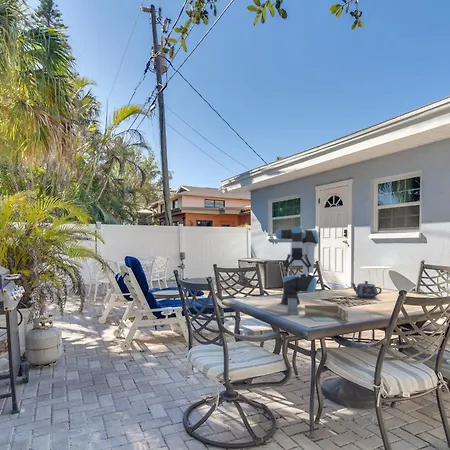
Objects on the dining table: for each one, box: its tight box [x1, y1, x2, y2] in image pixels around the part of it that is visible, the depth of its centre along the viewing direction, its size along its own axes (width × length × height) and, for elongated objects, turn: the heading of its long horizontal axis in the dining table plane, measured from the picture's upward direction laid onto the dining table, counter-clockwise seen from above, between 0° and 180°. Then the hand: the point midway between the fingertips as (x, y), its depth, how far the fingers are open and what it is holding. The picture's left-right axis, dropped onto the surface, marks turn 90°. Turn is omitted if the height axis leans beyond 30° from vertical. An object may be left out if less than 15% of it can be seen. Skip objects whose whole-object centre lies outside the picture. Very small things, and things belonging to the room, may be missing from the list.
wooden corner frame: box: [304, 304, 349, 323], centre depth 224 cm, size 18×24×7 cm
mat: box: [309, 316, 334, 322], centre depth 221 cm, size 10×13×1 cm
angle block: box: [287, 298, 300, 316], centre depth 239 cm, size 9×6×10 cm, turn 0°
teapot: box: [350, 280, 383, 299], centre depth 308 cm, size 19×31×15 cm, turn 38°
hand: (297, 276), depth 240 cm, fingers open, 13 cm apart
